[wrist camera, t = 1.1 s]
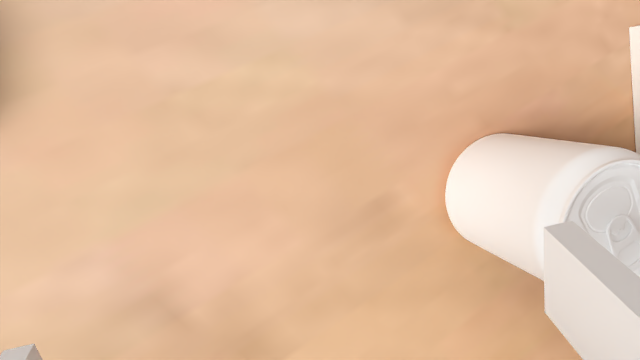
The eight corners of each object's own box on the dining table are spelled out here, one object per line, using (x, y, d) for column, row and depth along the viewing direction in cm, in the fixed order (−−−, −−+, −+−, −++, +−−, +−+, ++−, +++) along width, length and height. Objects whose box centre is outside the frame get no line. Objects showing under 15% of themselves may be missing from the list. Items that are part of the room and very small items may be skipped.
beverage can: (516, 111, 37) (661, 118, 26) (559, 207, 39) (710, 253, 28) (421, 170, 36) (526, 205, 25) (470, 265, 38) (588, 339, 27)
